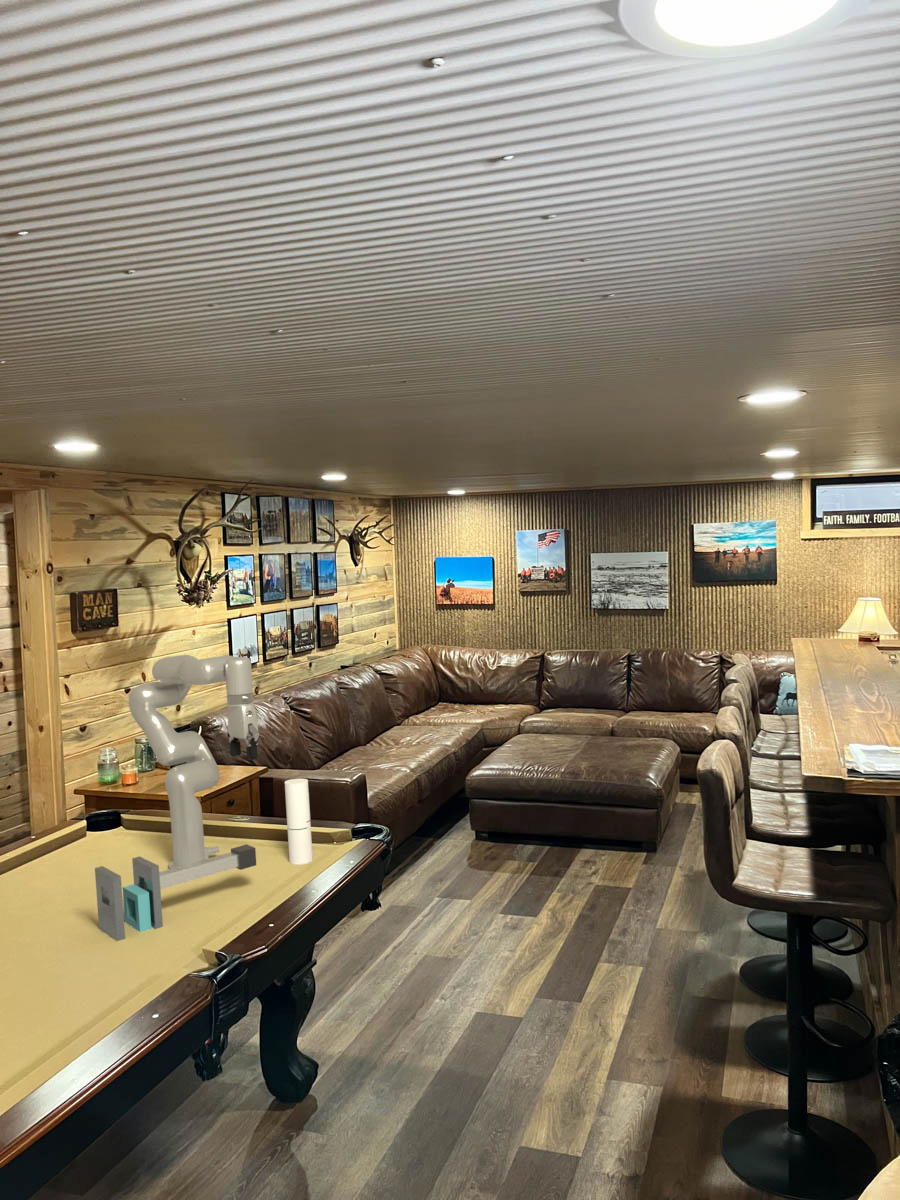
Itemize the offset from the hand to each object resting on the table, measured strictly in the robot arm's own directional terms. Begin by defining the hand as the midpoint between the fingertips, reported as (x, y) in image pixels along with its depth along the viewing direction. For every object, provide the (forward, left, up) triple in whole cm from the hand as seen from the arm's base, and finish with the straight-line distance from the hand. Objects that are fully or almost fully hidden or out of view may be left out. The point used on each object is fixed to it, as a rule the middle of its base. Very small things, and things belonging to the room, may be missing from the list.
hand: (244, 757), depth 270 cm
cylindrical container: (-19, -3, -36) cm, 41 cm away
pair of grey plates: (+40, +8, -36) cm, 55 cm away
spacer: (+38, +8, -36) cm, 53 cm away
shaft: (+19, +8, -29) cm, 36 cm away
